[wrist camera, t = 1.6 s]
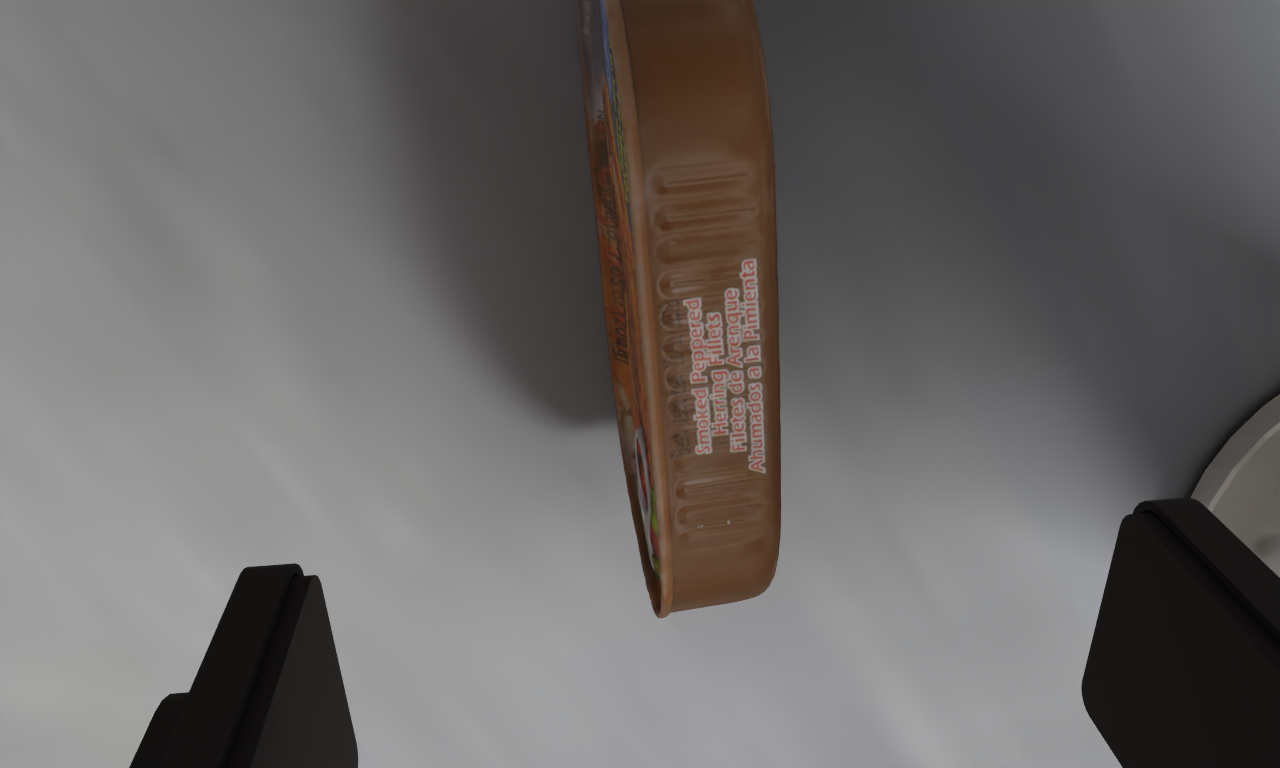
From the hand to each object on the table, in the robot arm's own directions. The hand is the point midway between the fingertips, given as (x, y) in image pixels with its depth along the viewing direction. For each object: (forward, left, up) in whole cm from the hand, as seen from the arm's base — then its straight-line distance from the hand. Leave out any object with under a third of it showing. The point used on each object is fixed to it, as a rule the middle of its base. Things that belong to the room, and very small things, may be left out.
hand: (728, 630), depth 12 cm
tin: (0, 0, -15) cm, 15 cm away
